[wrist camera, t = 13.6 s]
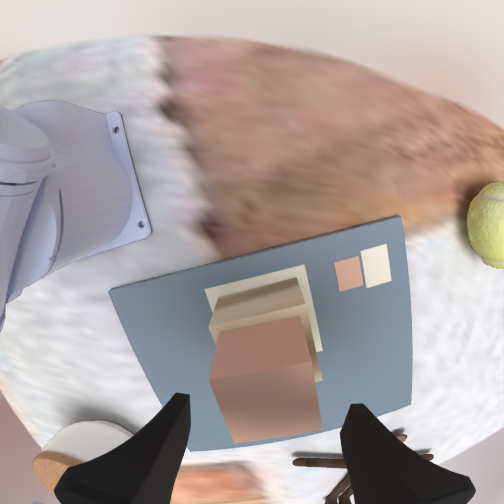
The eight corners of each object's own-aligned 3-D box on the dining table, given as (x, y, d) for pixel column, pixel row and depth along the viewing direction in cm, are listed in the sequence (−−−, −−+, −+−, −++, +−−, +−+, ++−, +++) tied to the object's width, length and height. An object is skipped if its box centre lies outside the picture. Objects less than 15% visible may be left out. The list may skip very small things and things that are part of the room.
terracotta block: (219, 331, 17) (207, 379, 12) (299, 315, 17) (311, 361, 12) (239, 391, 18) (234, 443, 14) (311, 378, 18) (322, 429, 13)
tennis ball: (552, 270, 14) (552, 180, 12) (492, 293, 16) (489, 193, 14) (511, 247, 20) (506, 172, 19) (455, 263, 22) (447, 183, 20)
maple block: (218, 296, 21) (208, 326, 17) (296, 277, 21) (305, 303, 16) (241, 361, 22) (237, 398, 18) (312, 344, 22) (322, 380, 18)
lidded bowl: (186, 441, 26) (163, 530, 15) (150, 484, 29) (130, 551, 18) (75, 380, 25) (19, 452, 14) (62, 437, 28) (26, 495, 17)
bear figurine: (267, 513, 26) (311, 458, 21) (268, 485, 30) (307, 422, 25) (395, 507, 26) (462, 449, 21) (390, 484, 30) (449, 423, 26)
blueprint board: (111, 288, 22) (107, 292, 21) (397, 215, 20) (401, 216, 19) (191, 447, 26) (189, 452, 25) (408, 400, 24) (411, 405, 24)
